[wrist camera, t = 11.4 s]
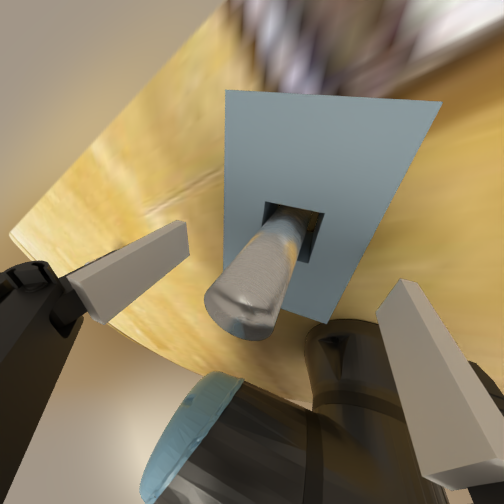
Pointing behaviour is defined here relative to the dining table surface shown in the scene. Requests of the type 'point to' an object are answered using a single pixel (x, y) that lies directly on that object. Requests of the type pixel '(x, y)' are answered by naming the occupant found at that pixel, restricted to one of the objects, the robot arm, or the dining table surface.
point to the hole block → (317, 178)
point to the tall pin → (259, 277)
